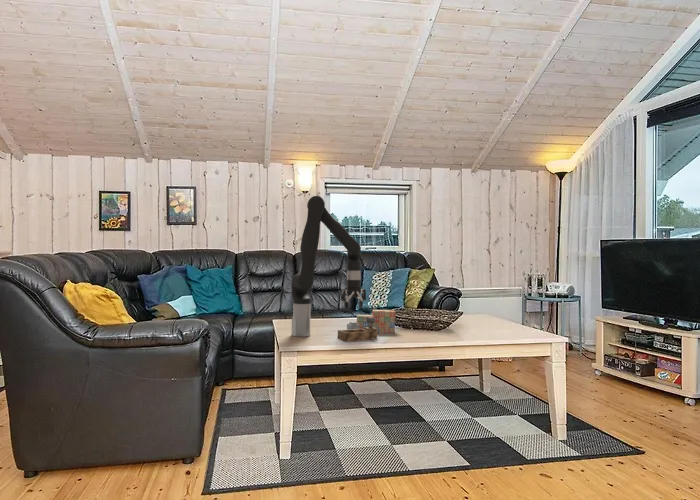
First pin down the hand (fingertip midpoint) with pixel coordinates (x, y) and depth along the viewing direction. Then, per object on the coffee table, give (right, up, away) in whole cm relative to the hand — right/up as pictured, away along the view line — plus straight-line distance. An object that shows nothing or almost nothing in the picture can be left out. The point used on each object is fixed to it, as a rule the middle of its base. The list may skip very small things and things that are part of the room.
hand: (353, 308), depth 273 cm
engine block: (0, -14, 0) cm, 14 cm away
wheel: (+9, -6, -8) cm, 13 cm away
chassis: (+3, -14, -11) cm, 18 cm away
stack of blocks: (+13, -15, +11) cm, 22 cm away
